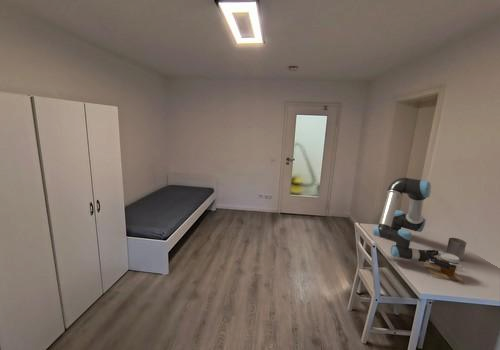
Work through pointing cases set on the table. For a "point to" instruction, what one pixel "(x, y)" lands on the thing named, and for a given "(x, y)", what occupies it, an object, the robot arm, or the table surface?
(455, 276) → the subfloor panel
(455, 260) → the disposable coffee cup
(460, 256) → the pillar candle
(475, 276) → the table surface
